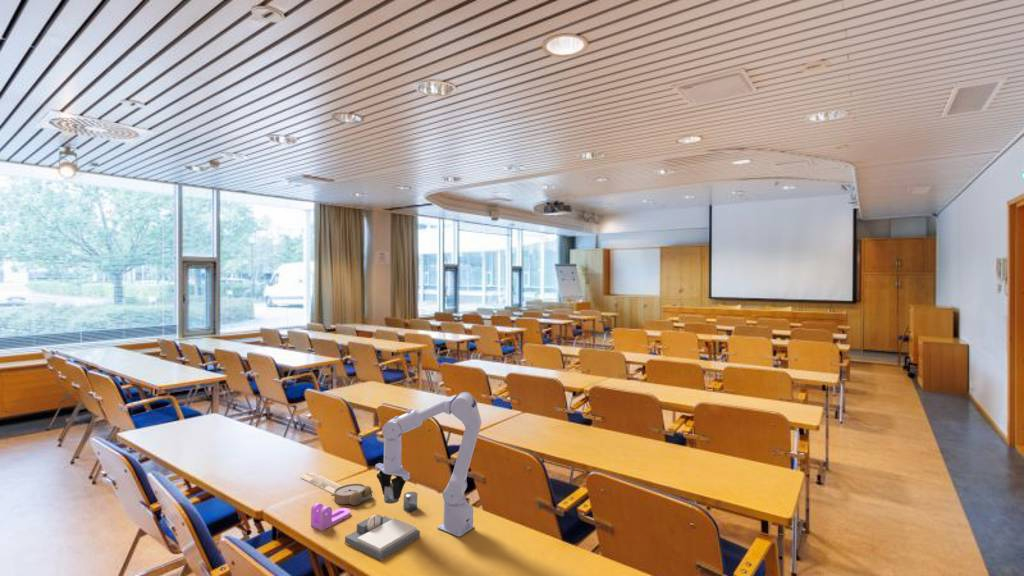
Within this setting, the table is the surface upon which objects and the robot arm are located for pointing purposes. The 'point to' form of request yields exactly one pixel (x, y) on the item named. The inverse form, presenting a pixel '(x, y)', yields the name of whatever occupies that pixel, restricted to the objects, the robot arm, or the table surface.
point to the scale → (382, 536)
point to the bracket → (327, 516)
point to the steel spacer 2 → (410, 501)
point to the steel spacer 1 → (389, 494)
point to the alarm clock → (352, 494)
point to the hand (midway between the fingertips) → (391, 496)
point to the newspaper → (321, 482)
